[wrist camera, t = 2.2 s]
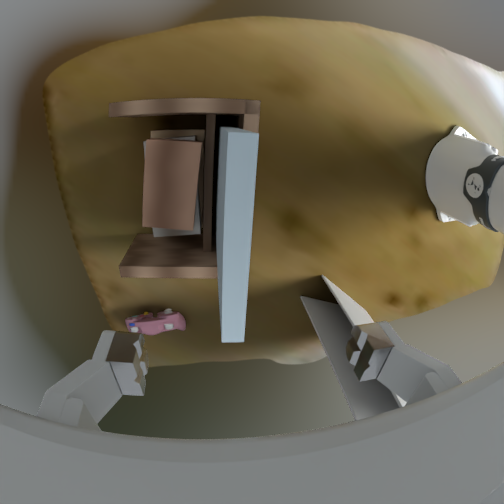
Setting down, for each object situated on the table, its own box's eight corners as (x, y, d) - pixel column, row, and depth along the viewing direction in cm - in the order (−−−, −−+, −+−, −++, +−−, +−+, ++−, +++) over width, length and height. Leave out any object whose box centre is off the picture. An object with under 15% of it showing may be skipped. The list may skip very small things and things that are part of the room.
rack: (248, 105, 34) (260, 100, 25) (240, 243, 43) (247, 278, 34) (134, 106, 32) (109, 103, 23) (138, 243, 41) (120, 277, 32)
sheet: (231, 126, 35) (258, 133, 14) (226, 224, 41) (244, 342, 20) (219, 126, 35) (228, 132, 14) (215, 224, 41) (221, 342, 20)
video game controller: (184, 302, 48) (176, 310, 41) (188, 327, 48) (182, 339, 41) (132, 309, 48) (117, 316, 41) (137, 333, 48) (124, 344, 41)
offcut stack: (205, 129, 35) (203, 131, 28) (203, 220, 41) (201, 245, 33) (153, 130, 34) (138, 133, 27) (155, 221, 40) (143, 245, 32)
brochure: (299, 296, 49) (368, 453, 22) (322, 274, 47) (411, 424, 21) (345, 329, 54) (412, 454, 27) (365, 310, 53) (444, 431, 26)
